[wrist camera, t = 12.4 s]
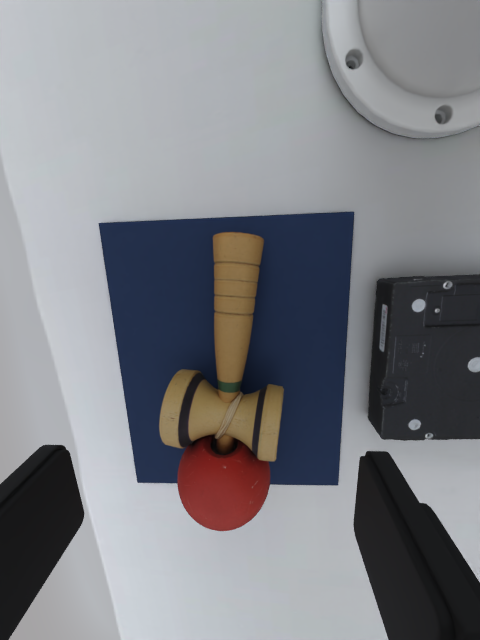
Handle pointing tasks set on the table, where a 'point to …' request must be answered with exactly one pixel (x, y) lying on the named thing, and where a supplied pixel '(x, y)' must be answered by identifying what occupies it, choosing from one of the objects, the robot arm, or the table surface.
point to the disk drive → (426, 358)
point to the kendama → (225, 404)
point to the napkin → (266, 335)
